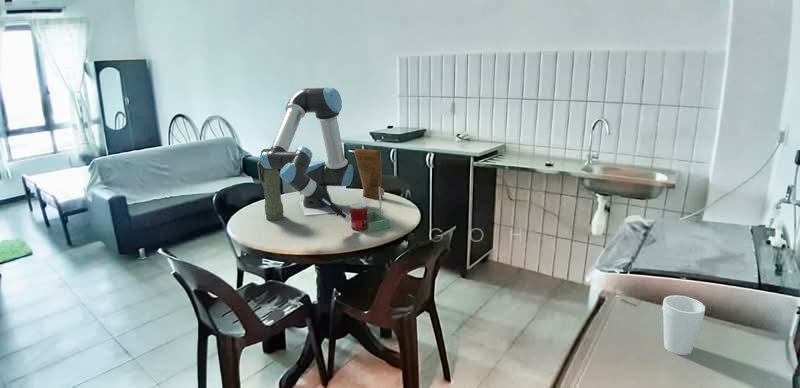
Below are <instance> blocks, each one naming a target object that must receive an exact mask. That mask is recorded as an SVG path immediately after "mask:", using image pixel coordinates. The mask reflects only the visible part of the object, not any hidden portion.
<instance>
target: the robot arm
mask: <svg viewBox="0 0 800 388" xmlns="http://www.w3.org/2000/svg"><path fill="white" fill-rule="evenodd" d="M340 94H341V93H340V92H339V91H338V89H336V88H333V87H315V88H314V87H313V88H310V87H308V88H303V89H302V88H301V90H299V91H297V92H296V93H295V94H294V95H293V96H292V97H291V98H290V99H289V100H288V102H287V104H286V105H285V109H284V110H285V113H284V117H283V119H282V121H281V123H280V126H279V128H278V131H277V133H276V136H275V137H274V140H273V142H272V144H271V147H270V148H269V149H270V151H269V152H268V151H267V152H263V153H262V155H261V154H260V155H261V159H260V160H261V164H262V166H263V167H264V168H269V169H281V171H280V177H281V178H280V179H282V180H283V181H284V182H285V183H286V184H288V185H289V186H291V187H292V188H293V189H295V190H296V191H297V192H298V193H299V195H302V196H304V197H303V200H302V201H303V206H304V207H306V208H309V207H310V208H311V209H313V208H314V209H317V208H318V207H319V208H324V207H326V208H329V209H330V210H331V211H332V212H334V213H335V214H336V217H339V218H341V219H342V220H344V221H345V222H346V223H350V222H351V219H352V218H351V215H348V214H347V213H346V212H344V210H343V209H341V207H340V206H339V207H338V206H337V205H336V204H334V203H333V202H332V198H331V195H330V193H329V191H328V187H348V186H350V185H351V184H352V181H353V178H354V167H353V166H354V165H352V164H350V163H349V161H348V159H347V158H345V155H344V154H345V153H344V150H343V149H344V148H343V144H342V138H341V133H340V126H339V121H338V117H339V115H340V112H341V111H342V107H343V105H342V104H343V101H342V97H341V95H340ZM307 113H309V114H310V113H315V117H316V119H317V120H319V123H320V127H321V134H322V136H323V141H324V147H325V152H326V156H327V157H326V158H327V161H325V160H316V161H312V158H313V152H312V151H311V149H309V148H308V147H307V146H306V147H305V146H300V147H298V148H297V149H296V150H295V151H289V149H290V147H291V144H292V142H293V140H294V138H295V135H296V133H297V130H298V127H299V125H300V122H301V120H302V119H303V118H304V117H305V116H306V114H307ZM262 166H261V167H262Z"/></svg>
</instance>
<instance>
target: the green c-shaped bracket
mask: <svg viewBox="0 0 800 388" xmlns="http://www.w3.org/2000/svg"><path fill="white" fill-rule="evenodd" d="M381 194H382V196H385V189H384V188H380V187H379V212H378V211H376V210H373V211H372V210H371V211H367V213H368V228H367V232H368V233H372V232H377V231H380V230H385V229H390V228H391V225H390V218H387V217H386V216H385V215H383V214H382V213H383V212H382V199H381ZM369 221H372V222H369Z"/></svg>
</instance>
